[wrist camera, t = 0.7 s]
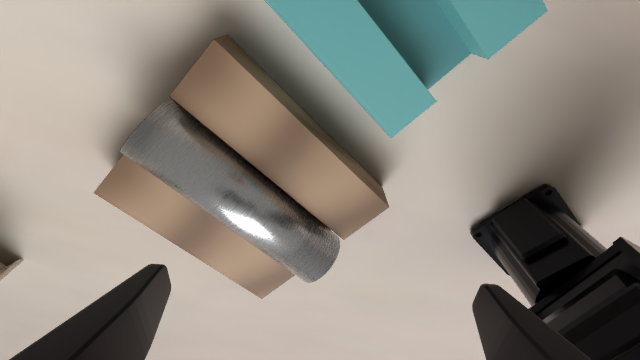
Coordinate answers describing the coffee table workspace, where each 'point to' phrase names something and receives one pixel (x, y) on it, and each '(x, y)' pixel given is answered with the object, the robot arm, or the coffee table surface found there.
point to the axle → (231, 190)
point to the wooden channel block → (259, 151)
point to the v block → (402, 44)
